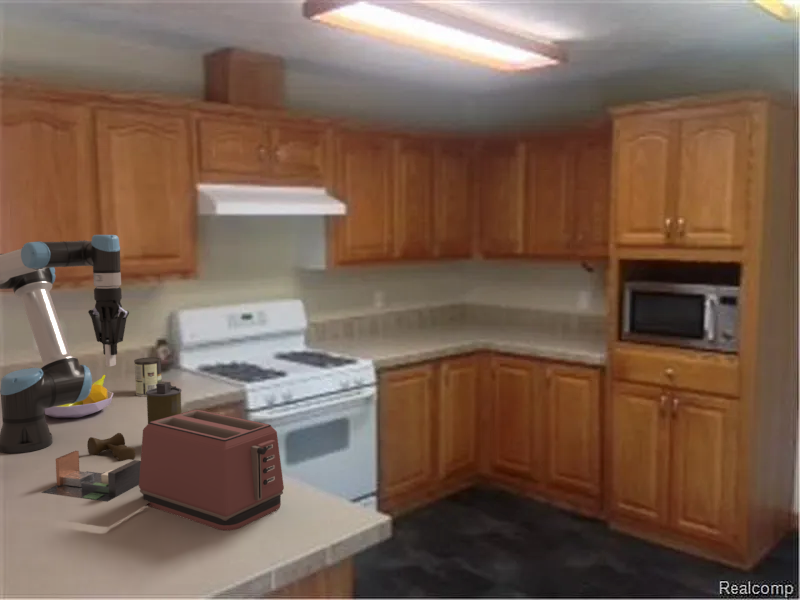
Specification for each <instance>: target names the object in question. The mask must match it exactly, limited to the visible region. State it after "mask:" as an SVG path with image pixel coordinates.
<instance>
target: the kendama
mask: <svg viewBox="0 0 800 600" xmlns="http://www.w3.org/2000/svg"><path fill="white" fill-rule="evenodd" d="M86 446H87V453H88V454H89V455H90V456H96V457H97V456H98V455H100V454H101V453H102V452H105V451H111V452H112V457H113V458H114V459H117V460H118V461H119V462H121V461H123V462H124V461H127V460H131V461H133V460H135V457H136V450H135V449H134V447H131V446H127V445H126V439H125V437H124V435H123V433H120V432H117V433H116V434H114V435H112V437H109V438H103V439H100V438H96V437H92V436H91V437H89V438H88V440H87V445H86Z"/></svg>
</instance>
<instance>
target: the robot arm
mask: <svg viewBox="0 0 800 600" xmlns="http://www.w3.org/2000/svg"><path fill="white" fill-rule="evenodd" d="M70 267H92V274H93V275H92V276H93V277H92V278H93V286H94V287H95V288H94V289H93V297H94V301H95V303H94V304H95V305H94V308H92V309H89V310H88V312H87V313H88V315H89V317H90V318H91V322H92V326H93V330H94V333H95V334H94V335H95V338H96V339H95V340H96V341H97V342H98V343H102V347H103V351H102V352H103V355H105V357H104V358H105V367H113V366H116V365H117V356H116V355H118V344H119V343H122V342H124V335H125V330H126V324H127V318H128V316H129V314H130V311H129V310H125V308H123V305H122V303H121V300H122V296H123V295H122V288H121V287H120V286H122V274H121V273H122V272H121V246H120V238H119V236H118V235H116V234H93V236H91V240H76V241H75V240H74V241H73V240H70V241H67V240H66V241H64V240H63V241H40V240H39V241H31V242H30V241H29V242H26V243H24V244H23V245H22V248H19V249H16V250H12V251H8V252H6V253H0V290H9V289H10V290H11V289H12V291H13V293H14V296H15V297H16V298H18V299H20V300H21V301H22V303H23V305H22V306H23V307H24V308H23V309H24V310H25V313H26V317H27V319H28V322H29V325H30V328H31V332H32V334H33V337H34V340H35V343H36V346H37V349H38V353H39V357H40V359H41V361H42V365H41V366H40V367H30V368H21V369H19V370H14V371H11V372H8V373H7V374H5V375H4V376H3V377H2V378H1V379H0V402H1V404H0V405H1V416H2V417H1V418H2V425H1V429H0V452H2V453H6V454H8V453H9V454H18V453H19V454H21V453H28V452H29V453H30V452H34V451H38V450H41V449H44V448H47V447H49V446H51V445H53V442H54V441H53V434H52V432H50V428H49V426H48V422H47V420H46V414H45V408H50V407H55V406H60V405H65V404H70V403H71V404H72V403H75V402H78V401H82V400H84V399H86V398H87V397H88V395H89V394H90V391H91V387H92V384H93V375H92V373H91V370H90V368H89V367H88V366H87V365H85V364H80V361H79V359H78V358H77V356H73V355H72V354H71V351H70V347H69V345H68V342H67V339H66V336H65V334H64V333H65V332H64V331H63V327H62V325H61V322H60V318H59V316H58V314H57V311H56V307H55V305H54V302H53V299H52V296H51V293H50V291H52V289H53V285H54V283H55V281H56V277H57V276H56V274H55V273H56V269H55V268H70Z"/></svg>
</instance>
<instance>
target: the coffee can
mask: <svg viewBox="0 0 800 600" xmlns="http://www.w3.org/2000/svg"><path fill="white" fill-rule="evenodd" d="M134 375H135V379H134V380H135V381H134V382H135V395H136V396H138V397H147V394H146V392H147V391H148V390H151V389H155V388H157V386H156V384H158V383H159V382H161V381H162V358H160V357H154V356H153V357H150V356H148V357H141V358H140V357H139V358H136V359H134ZM162 382H163V381H162Z"/></svg>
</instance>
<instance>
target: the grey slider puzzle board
mask: <svg viewBox="0 0 800 600" xmlns="http://www.w3.org/2000/svg"><path fill="white" fill-rule="evenodd" d="M140 464H141V460H137V459H134V460H131V461H129V462H128V463H125V464H124V465H121V466H119V467H116V468H115V469H113V471H111V472H109V473H108V484H105V483H102V481H101V474H103V473H106V472H107V471H105V472H94V471H85V472H89V473H94V481H92V482H83V483H81V487H78V486H70V485H60V486H59V485H57V484H56V485H54V486H52V487H50V488H47V489H46V490H43V491H41V493H42V494H49V495H57V496H64V497H71V498H78V499H85V500H93V501H97V502H98V501H99V502H100V501H101V502H106V503H108V502H109V501H112V500H113V499H115V498H117V497H118V496H121V495H123V494H124V493H127V492H128V491H130V490H131V489H134V488H135V487H139V477H140Z"/></svg>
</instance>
